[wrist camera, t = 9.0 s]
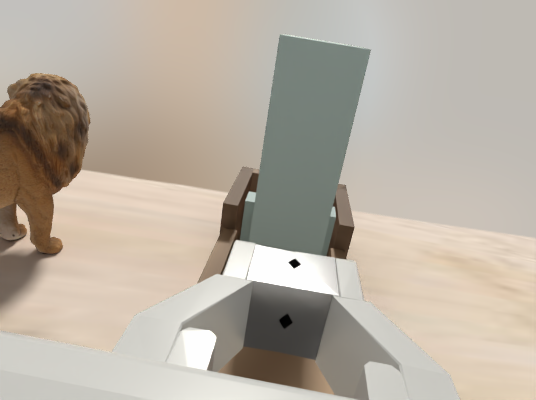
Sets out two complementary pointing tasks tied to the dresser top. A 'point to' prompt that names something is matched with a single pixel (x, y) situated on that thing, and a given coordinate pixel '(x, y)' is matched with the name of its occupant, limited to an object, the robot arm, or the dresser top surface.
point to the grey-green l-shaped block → (304, 144)
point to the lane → (258, 360)
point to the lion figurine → (39, 153)
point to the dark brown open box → (248, 182)
